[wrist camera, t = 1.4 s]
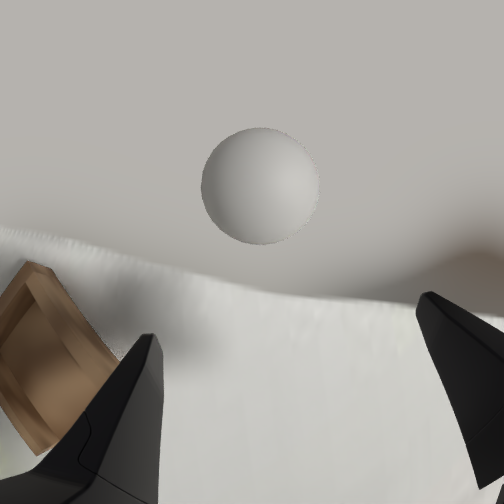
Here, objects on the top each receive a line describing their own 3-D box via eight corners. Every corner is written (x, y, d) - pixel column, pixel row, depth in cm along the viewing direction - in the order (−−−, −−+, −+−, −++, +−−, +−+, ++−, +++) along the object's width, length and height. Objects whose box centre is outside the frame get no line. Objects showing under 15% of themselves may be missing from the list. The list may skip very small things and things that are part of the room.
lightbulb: (299, 199, 24) (333, 114, 14) (292, 275, 23) (329, 233, 12) (223, 189, 24) (207, 98, 14) (210, 264, 23) (178, 213, 12)
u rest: (129, 373, 21) (110, 381, 17) (57, 444, 19) (36, 456, 16) (51, 268, 23) (27, 260, 19) (-8, 347, 21) (-32, 347, 17)
